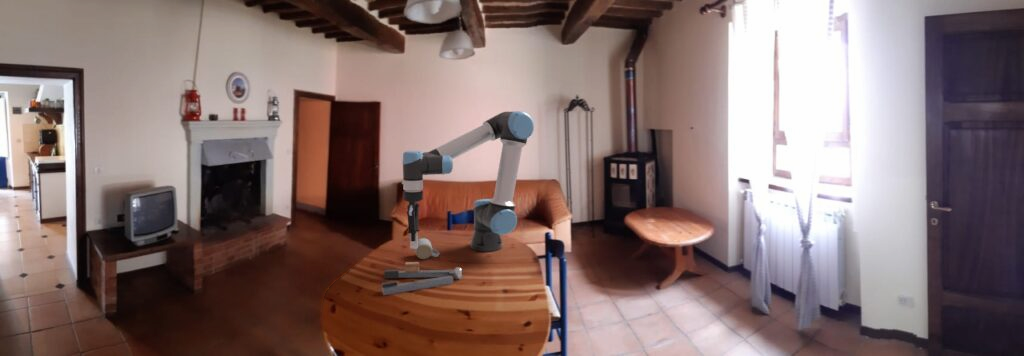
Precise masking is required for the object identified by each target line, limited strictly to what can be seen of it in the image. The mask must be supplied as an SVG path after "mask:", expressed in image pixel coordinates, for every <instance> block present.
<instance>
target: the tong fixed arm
mask: <svg viewBox="0 0 1024 356" xmlns="http://www.w3.org/2000/svg"><path fill="white" fill-rule="evenodd" d="M452 284H454V277H452V275H451V276H444V277H431V278H427V279H422V280H421V279H420V280H415V281H409V282H402V283H398V282H397V280H393V281H386V282H381V292H382V295H383V296H388V295H389V296H390V295H394V294H401V293H406V292H407V293H408V292H411V291H412V292H413V291H417V290H425V289H429V288H435V287H436V288H437V287H440V286H447V285H452Z"/></svg>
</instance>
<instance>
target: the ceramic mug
mask: <svg viewBox="0 0 1024 356" xmlns="http://www.w3.org/2000/svg"><path fill="white" fill-rule="evenodd" d="M414 252H415V255H416V257H417V258H418V259H420V260H427V259H429V258H431V257H435V258H438V257H439V255H440V251H439V250H437V249H435V248H433V245H432V243H431V241H430V240H429V239H427V238H424V237H422V238H418V248H417V249H414Z"/></svg>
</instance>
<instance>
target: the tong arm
mask: <svg viewBox="0 0 1024 356" xmlns="http://www.w3.org/2000/svg"><path fill="white" fill-rule="evenodd" d="M462 269H463V268H462V267H459V266H458V267H455V268H454V269H429V270H428V269H424V270H422V269H421V270H420V262H419V261H406V262H405V263H404V270H399V269H384V272H383V273H384V279H400V278H401V279H402V278H407V279H408V278H409V279H410V278H411V279H412V278H414V279H415V278H438V277H444V276H451V275H452V277H453V278H454V279H455V280H461V279H462V277H463V275H462V274H463V271H462Z"/></svg>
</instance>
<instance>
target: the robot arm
mask: <svg viewBox="0 0 1024 356" xmlns="http://www.w3.org/2000/svg"><path fill="white" fill-rule="evenodd" d="M534 129H535V124H534V119H533V118H532V117H531V116H530V114H529V113H527V112H525V111H520V110H519V111H518V110H515V111H503V112H500V113H498V114H496V115H494V116H493V117H490V118H489V119H487V120H485V121H483V123H482V125H480V126H478V127H476V128H474V129H472V130H470V131H468V132H466V133H464V134H461V135H460V136H458V137H456V138H454V139H452V140H450V141H448V142H446V143H444V144H442V145H440V146H438V147H436V148H434V149H431V150H430V151H428V152H427V151H425V152H422V151H419V150H406V151H404V152H403V155H402V182H401V185H402V186H403V188H402V189H403V192H402V194H403V201H405V202H408V204H407V211H406V214H407V225H408V226H407V227H408V231H407V233H408V234H409V249H410V250H415V249H417V248H418V239H419V238H418V237H419V236H418V232H420V229H419V218H420V217H419V216H420V212H419V211H420V204H419V202H420V201H423V199H424V191H423V189H424V179H423V177H424V176H428V175H432V176H433V175H448V174H451V173H452V171H453V168H454V163H453V160H454V159H456V158H458V157H460V156H461V155H464V154H465V153H467V152H469V151H471V150H473V149H475V148H477V147H479V146H481V145H483V144H485V143H486V142H489V141H492V142H494V141H496V140H497V139H499V140H500V142H501V144H502V147H501V153H500V159H499V164H498V171H497V176H496V181H495V187H494V193H493V198H483V199H477V200H475V201H474V203H473V228H474V230H473V235H472V238H471V240H470V248H471V249H472V250H473V251H477V252H495V251H499V250H501V249H502V248H503V239H502V237H501V236H504V235H509V234H510V233H512V232H513V231H514V230H515V228H516V226H517V224H518V217H517V214H516V213H515V209H516V204H515V203H514V195H515V189H516V184H517V178H518V172H519V166H520V162H521V157H522V149H523V148H524V147H526V145H527V142H528V138H530V136H532V135H533V133H534Z"/></svg>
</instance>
